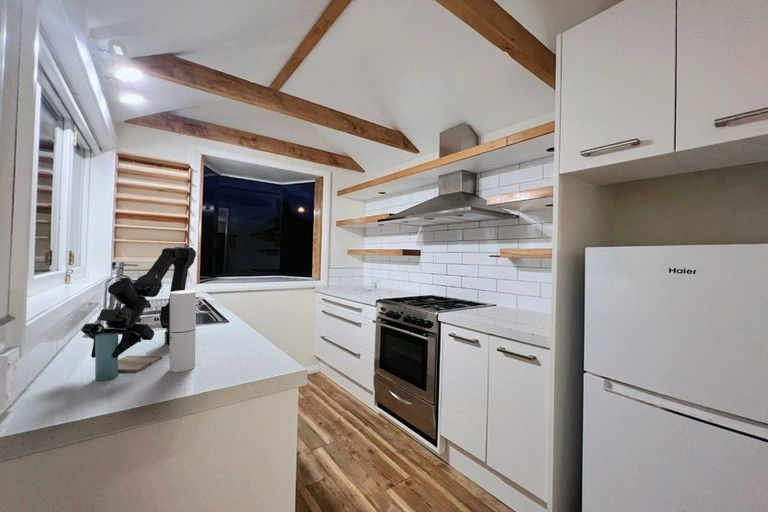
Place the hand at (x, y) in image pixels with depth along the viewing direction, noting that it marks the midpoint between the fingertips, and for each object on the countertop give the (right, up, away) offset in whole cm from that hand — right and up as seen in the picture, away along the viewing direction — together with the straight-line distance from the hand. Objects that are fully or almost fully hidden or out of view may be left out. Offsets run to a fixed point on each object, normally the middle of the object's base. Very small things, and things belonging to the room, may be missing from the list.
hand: (103, 357), depth 93 cm
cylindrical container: (+17, -7, +10) cm, 21 cm away
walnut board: (-1, -6, +11) cm, 13 cm away
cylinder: (0, -7, +2) cm, 7 cm away
